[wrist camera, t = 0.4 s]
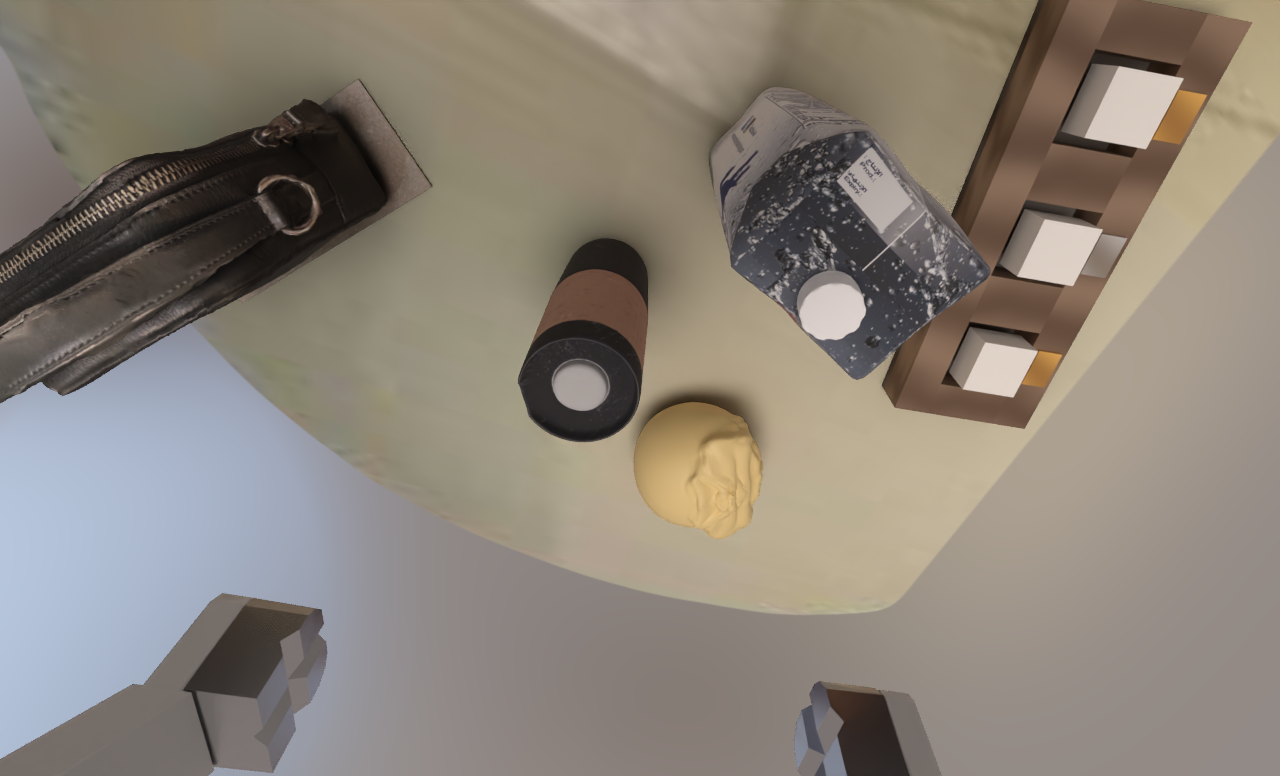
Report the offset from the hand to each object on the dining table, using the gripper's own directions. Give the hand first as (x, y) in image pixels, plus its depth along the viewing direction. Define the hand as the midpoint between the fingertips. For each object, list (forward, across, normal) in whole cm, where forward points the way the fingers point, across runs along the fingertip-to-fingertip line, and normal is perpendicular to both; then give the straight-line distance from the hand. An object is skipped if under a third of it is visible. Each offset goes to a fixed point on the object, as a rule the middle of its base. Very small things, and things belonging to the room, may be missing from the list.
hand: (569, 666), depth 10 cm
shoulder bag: (+46, +29, +9) cm, 55 cm away
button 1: (+43, -31, +10) cm, 54 cm away
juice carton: (+46, -10, -2) cm, 48 cm away
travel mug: (+46, +2, +10) cm, 48 cm away
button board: (+46, -31, 0) cm, 56 cm away
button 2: (+43, -31, -10) cm, 54 cm away
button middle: (+43, -31, 0) cm, 53 cm away
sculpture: (+47, -9, +25) cm, 54 cm away
